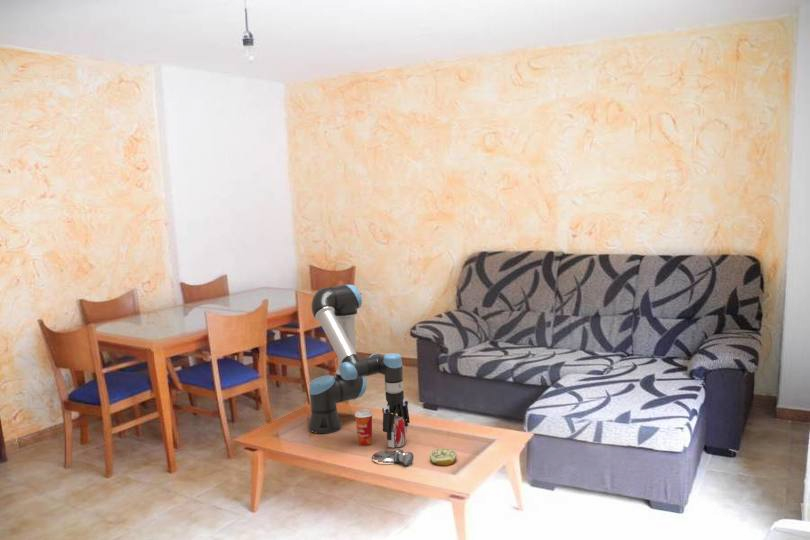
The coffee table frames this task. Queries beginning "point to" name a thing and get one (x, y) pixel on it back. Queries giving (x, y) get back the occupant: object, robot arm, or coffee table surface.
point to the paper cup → (364, 426)
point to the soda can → (399, 431)
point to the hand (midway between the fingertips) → (397, 443)
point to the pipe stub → (403, 457)
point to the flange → (384, 456)
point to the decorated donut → (443, 456)
